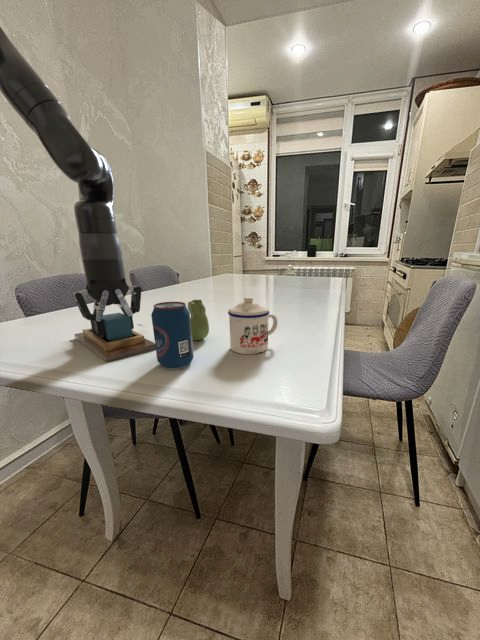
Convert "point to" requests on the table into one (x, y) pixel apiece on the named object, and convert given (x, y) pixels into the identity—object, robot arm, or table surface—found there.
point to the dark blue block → (95, 330)
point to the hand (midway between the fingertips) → (116, 333)
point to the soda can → (172, 335)
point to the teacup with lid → (250, 327)
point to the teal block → (117, 326)
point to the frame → (115, 345)
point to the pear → (198, 320)
